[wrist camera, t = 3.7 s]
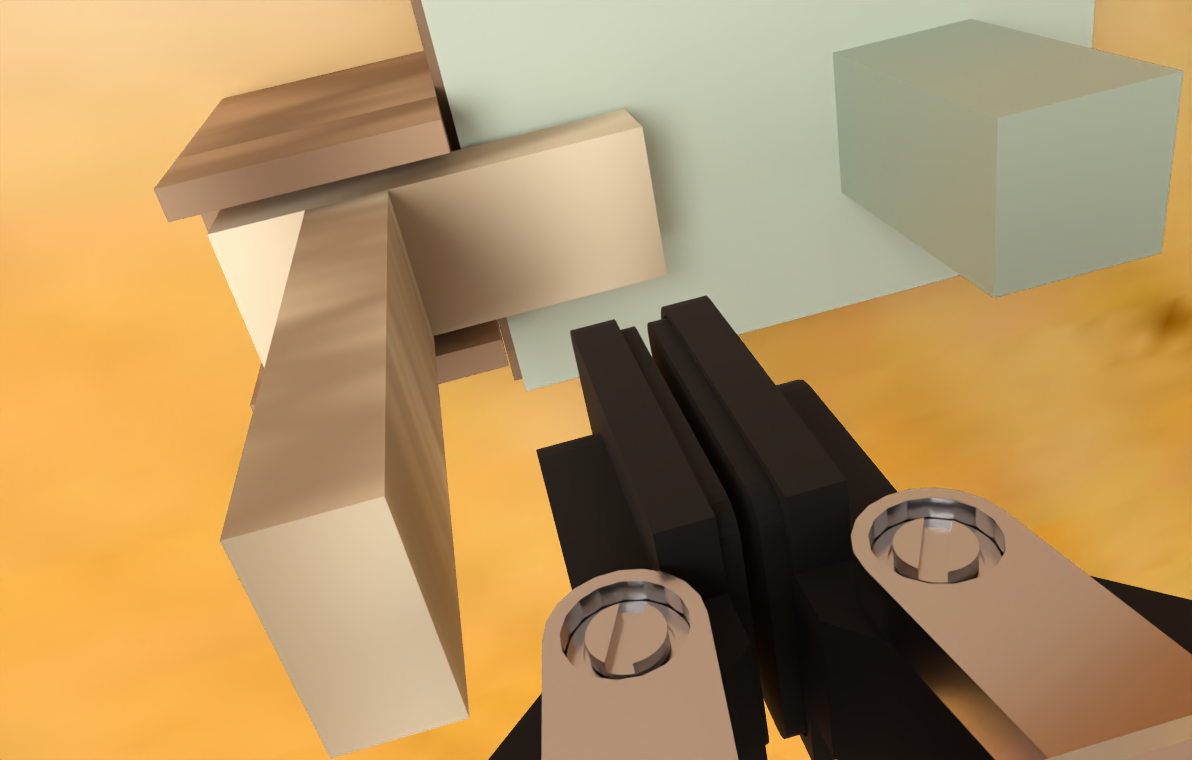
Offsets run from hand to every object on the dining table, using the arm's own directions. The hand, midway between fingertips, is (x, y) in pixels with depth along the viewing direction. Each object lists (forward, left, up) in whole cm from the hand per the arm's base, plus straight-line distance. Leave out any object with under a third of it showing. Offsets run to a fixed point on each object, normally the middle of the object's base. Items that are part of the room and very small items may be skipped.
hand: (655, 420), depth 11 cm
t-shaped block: (+2, 0, -9) cm, 9 cm away
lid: (-5, 0, -10) cm, 12 cm away
